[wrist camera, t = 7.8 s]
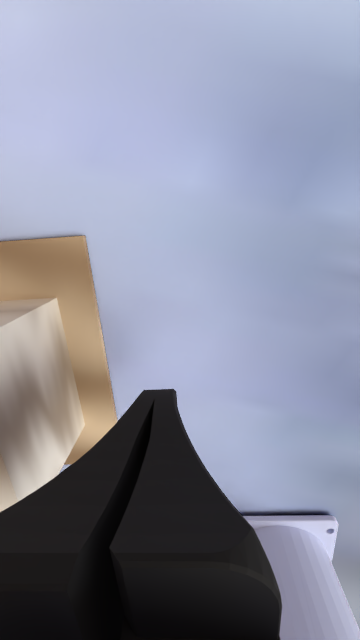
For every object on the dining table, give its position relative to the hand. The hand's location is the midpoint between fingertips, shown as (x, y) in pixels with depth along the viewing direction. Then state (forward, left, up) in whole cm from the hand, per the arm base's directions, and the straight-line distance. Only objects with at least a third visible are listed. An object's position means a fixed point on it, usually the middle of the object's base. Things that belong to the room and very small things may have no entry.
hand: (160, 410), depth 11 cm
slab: (0, +7, -4) cm, 8 cm away
